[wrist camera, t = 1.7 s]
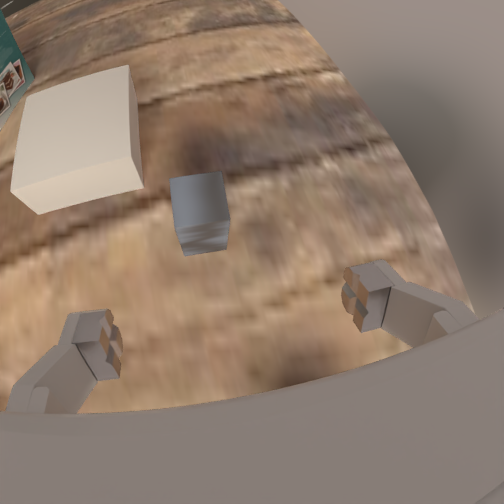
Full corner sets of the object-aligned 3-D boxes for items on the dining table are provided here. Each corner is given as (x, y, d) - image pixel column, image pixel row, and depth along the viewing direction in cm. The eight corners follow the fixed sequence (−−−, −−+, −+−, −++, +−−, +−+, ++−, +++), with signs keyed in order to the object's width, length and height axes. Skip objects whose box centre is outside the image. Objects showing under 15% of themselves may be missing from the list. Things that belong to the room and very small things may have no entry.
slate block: (184, 256, 37) (174, 227, 28) (179, 217, 39) (169, 178, 29) (226, 249, 38) (230, 219, 29) (219, 211, 39) (221, 170, 30)
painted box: (39, 215, 37) (10, 191, 29) (46, 126, 40) (27, 96, 33) (144, 188, 39) (131, 156, 32) (137, 100, 43) (128, 64, 35)
